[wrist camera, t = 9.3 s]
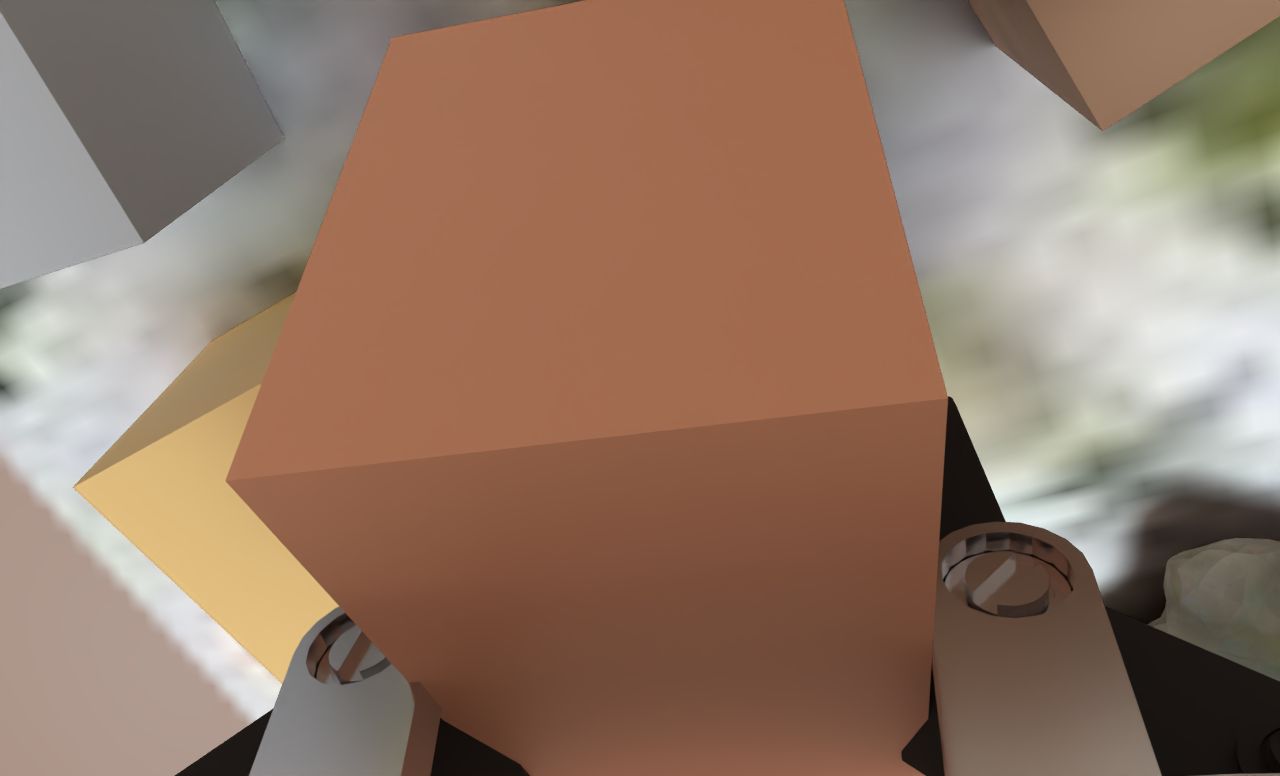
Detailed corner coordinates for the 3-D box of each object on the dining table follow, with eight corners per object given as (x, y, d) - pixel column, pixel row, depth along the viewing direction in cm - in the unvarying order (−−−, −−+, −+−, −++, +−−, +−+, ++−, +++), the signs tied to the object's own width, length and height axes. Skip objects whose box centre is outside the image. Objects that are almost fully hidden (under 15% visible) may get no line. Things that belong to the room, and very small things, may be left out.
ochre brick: (213, 338, 19) (73, 487, 15) (366, 249, 18) (259, 383, 14) (446, 598, 22) (386, 781, 18) (588, 538, 21) (559, 719, 17)
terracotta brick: (392, 38, 9) (225, 480, 5) (831, -47, 8) (948, 399, 5) (596, 514, 15) (575, 866, 11) (859, 487, 14) (919, 852, 11)
